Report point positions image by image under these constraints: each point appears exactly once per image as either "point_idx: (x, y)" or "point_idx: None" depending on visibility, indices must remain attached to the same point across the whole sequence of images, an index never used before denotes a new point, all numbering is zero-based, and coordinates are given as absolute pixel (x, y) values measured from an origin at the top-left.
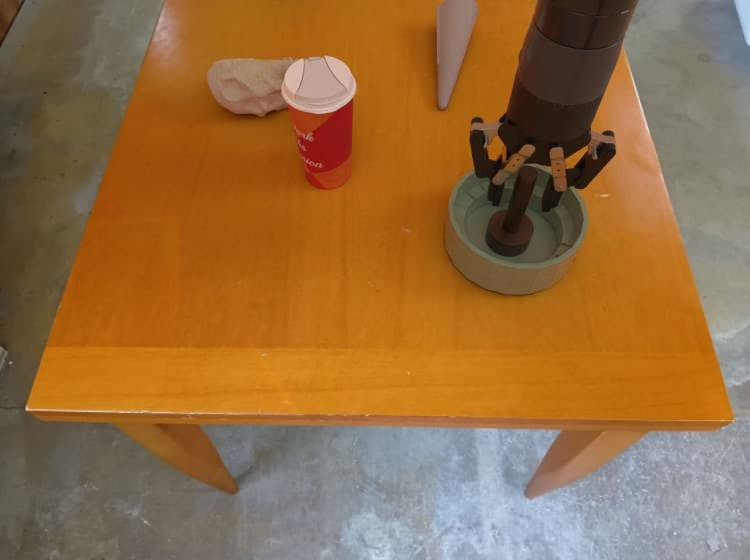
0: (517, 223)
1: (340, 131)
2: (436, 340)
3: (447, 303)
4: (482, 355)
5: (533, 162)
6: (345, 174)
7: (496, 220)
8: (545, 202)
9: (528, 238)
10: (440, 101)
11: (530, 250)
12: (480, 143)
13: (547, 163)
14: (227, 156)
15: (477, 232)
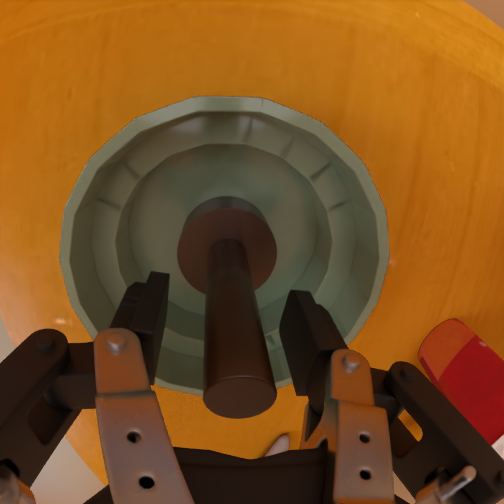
0: (223, 254)
1: (492, 391)
2: (380, 46)
3: (357, 107)
4: (309, 5)
5: (263, 464)
6: (441, 340)
7: (256, 271)
8: (163, 296)
9: (192, 225)
10: (287, 443)
11: (182, 211)
12: (486, 473)
13: (195, 467)
14: (497, 341)
15: (281, 254)
